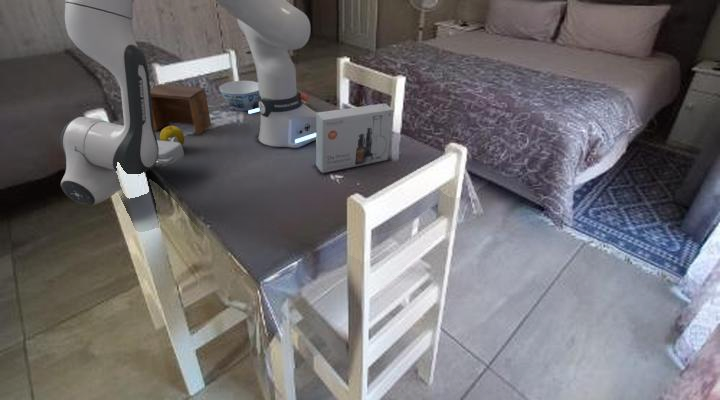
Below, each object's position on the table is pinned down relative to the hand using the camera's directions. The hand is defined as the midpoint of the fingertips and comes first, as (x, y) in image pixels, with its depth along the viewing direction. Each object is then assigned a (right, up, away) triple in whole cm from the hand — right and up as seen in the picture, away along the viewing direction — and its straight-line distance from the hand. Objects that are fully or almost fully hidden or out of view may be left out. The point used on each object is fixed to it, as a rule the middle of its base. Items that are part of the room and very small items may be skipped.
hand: (158, 137), depth 107 cm
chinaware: (+11, +17, +39) cm, 44 cm away
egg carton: (+30, +17, +41) cm, 54 cm away
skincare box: (+53, -7, +6) cm, 54 cm away
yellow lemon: (+1, -3, +8) cm, 9 cm away
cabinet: (-3, +7, +22) cm, 23 cm away
